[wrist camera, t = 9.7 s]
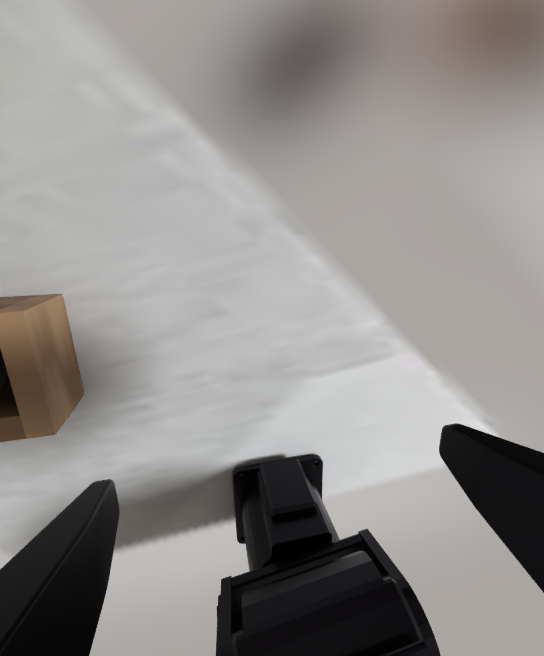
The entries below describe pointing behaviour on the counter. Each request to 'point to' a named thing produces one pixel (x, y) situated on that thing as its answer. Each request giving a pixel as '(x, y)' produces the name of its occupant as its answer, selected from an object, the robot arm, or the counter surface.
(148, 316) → the counter surface
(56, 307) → the block with square hole
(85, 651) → the robot arm
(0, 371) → the peg
